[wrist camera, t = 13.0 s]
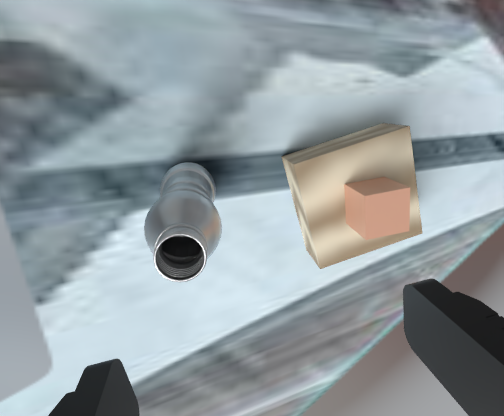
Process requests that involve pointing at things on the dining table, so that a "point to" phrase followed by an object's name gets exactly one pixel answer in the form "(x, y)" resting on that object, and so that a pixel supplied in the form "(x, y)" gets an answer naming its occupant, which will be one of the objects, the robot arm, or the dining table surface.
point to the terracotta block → (377, 207)
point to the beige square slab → (333, 194)
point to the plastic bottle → (183, 222)
